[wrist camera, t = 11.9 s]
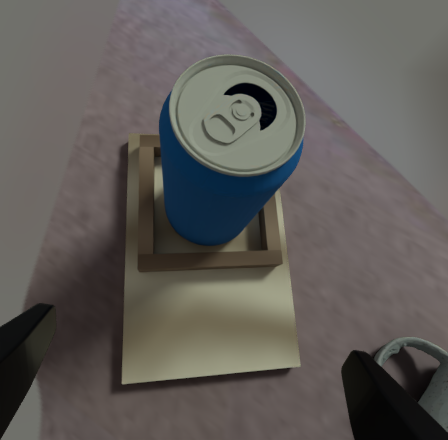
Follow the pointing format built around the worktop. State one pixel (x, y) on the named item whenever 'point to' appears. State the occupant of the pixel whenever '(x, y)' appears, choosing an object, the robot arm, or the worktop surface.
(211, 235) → the beverage can
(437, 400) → the ceramic mug
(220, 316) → the can holder
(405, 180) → the worktop surface
